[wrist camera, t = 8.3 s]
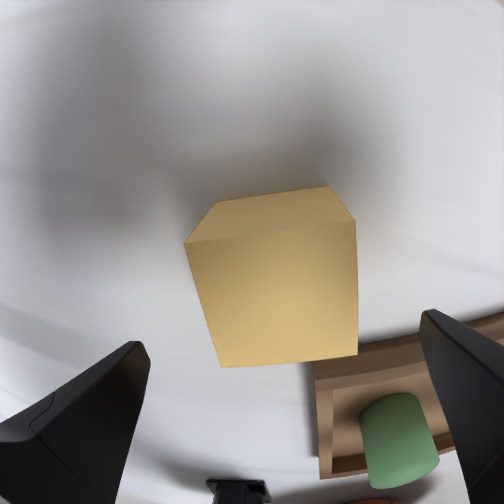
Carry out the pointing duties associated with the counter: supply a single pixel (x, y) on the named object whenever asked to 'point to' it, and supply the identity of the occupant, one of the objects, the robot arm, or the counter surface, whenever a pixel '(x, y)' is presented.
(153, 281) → the counter surface
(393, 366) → the serving tray
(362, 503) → the bowl
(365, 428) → the cucumber chunk
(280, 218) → the cheddar cube
